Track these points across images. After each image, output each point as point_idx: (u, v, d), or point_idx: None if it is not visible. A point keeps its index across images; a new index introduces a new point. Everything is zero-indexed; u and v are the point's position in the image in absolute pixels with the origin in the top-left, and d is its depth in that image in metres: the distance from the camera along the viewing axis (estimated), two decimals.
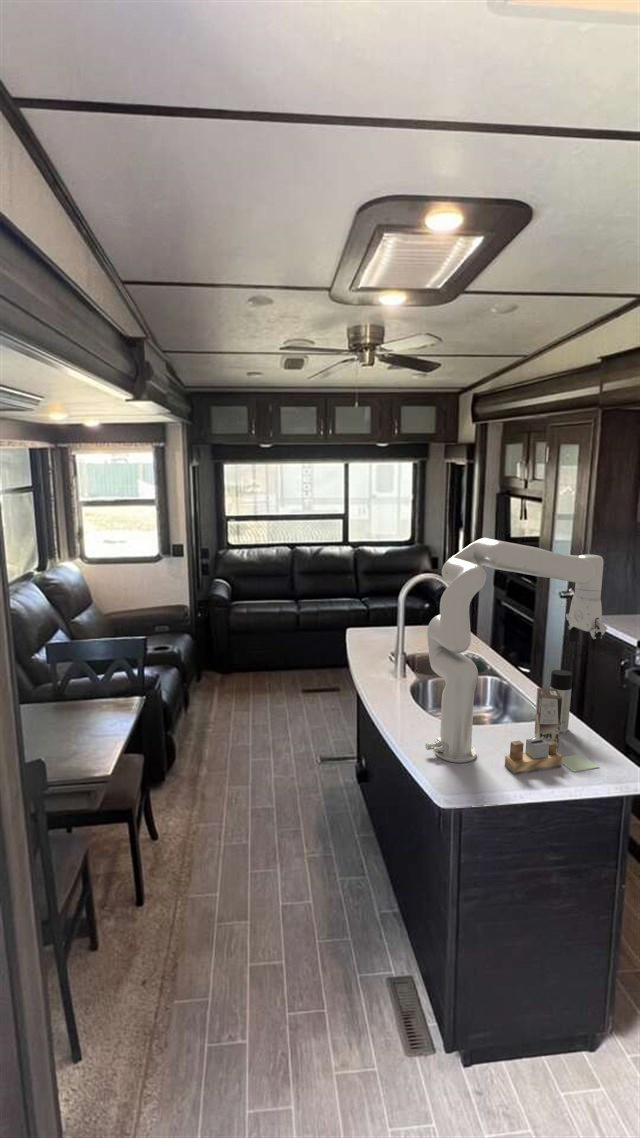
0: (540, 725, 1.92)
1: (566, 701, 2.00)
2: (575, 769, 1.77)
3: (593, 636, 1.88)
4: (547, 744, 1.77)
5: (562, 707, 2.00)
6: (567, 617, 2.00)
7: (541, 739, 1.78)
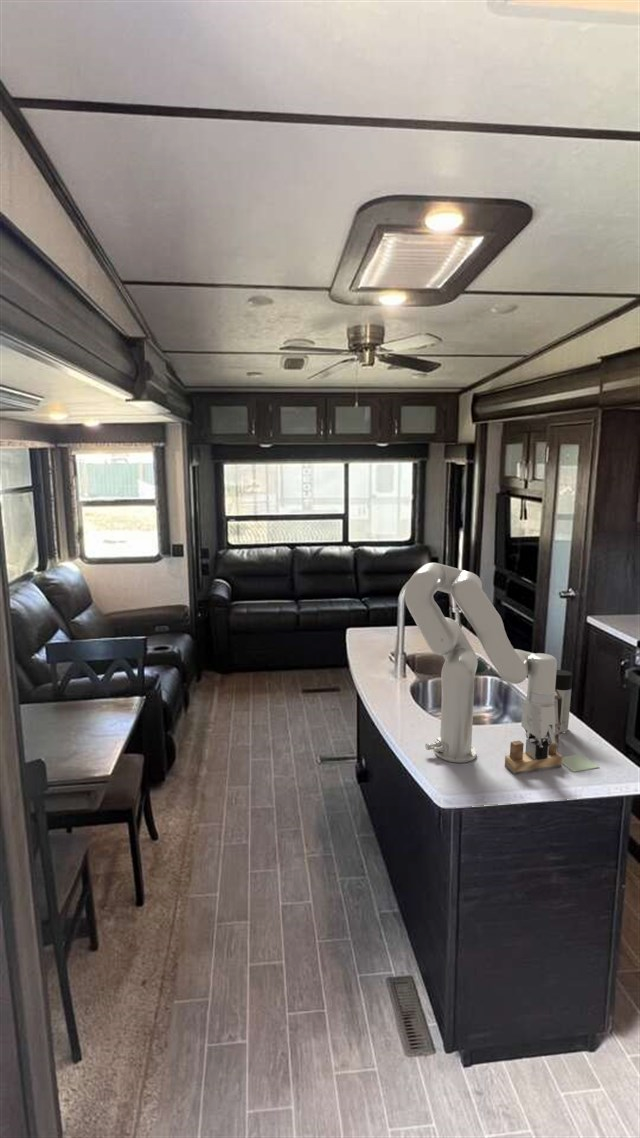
0: None
1: (566, 701, 2.00)
2: (575, 769, 1.77)
3: (540, 745, 1.75)
4: None
5: (562, 707, 2.00)
6: None
7: None
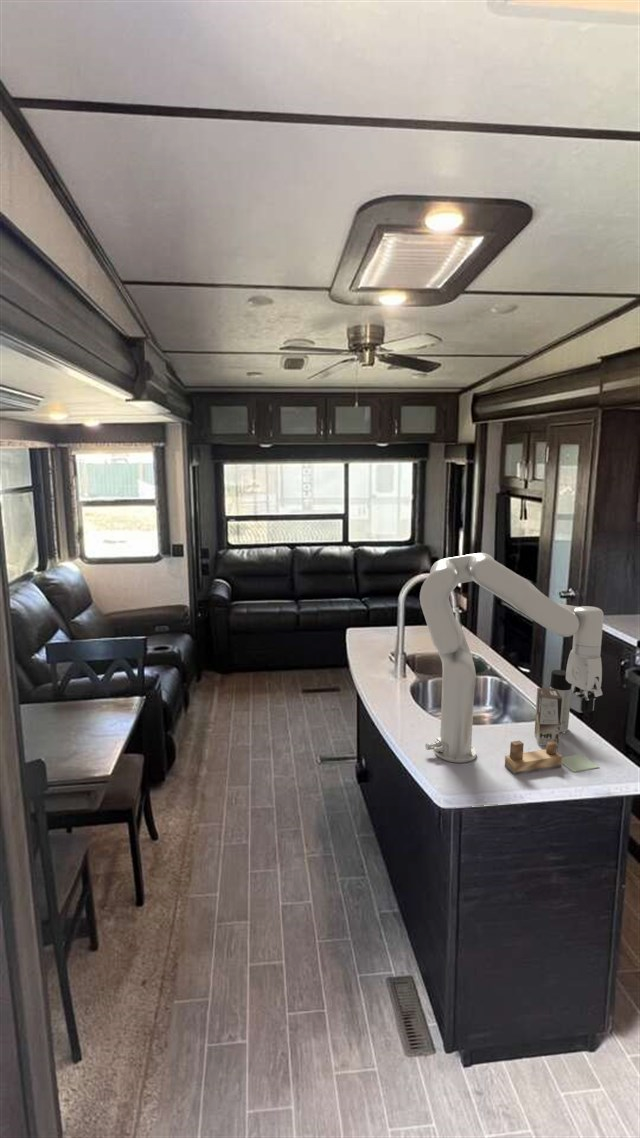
0: (540, 725, 1.92)
1: (566, 701, 2.00)
2: (575, 769, 1.77)
3: (586, 697, 1.75)
4: None
5: (562, 707, 2.00)
6: None
7: None
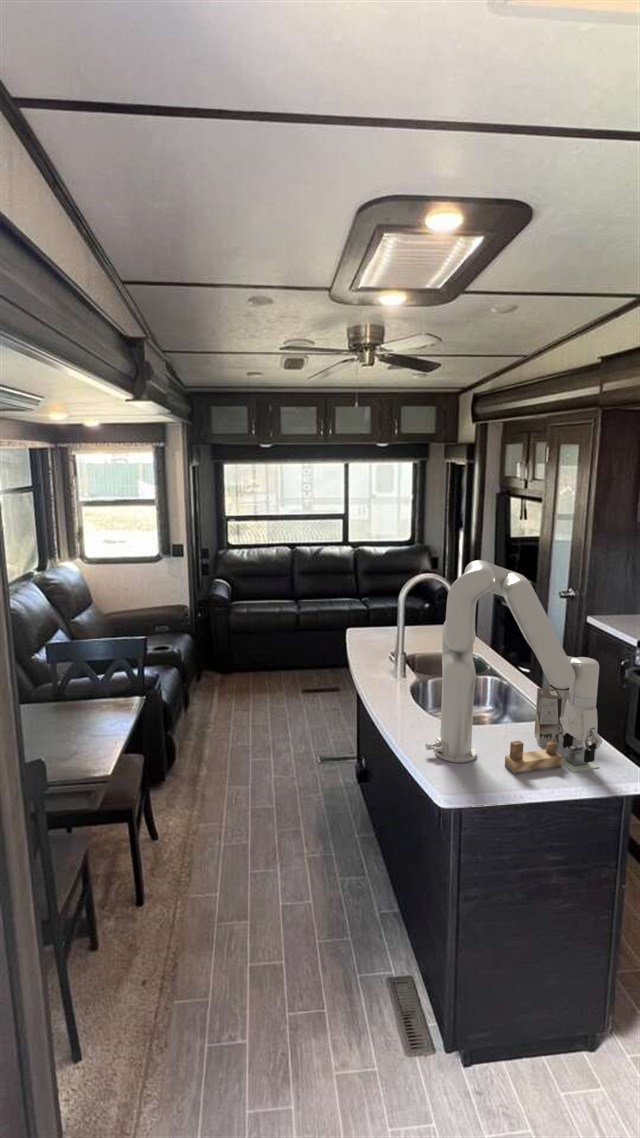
0: (540, 725, 1.92)
1: (566, 701, 2.00)
2: (575, 769, 1.77)
3: (587, 747, 1.75)
4: None
5: (562, 707, 2.00)
6: (561, 720, 1.87)
7: (581, 746, 1.81)
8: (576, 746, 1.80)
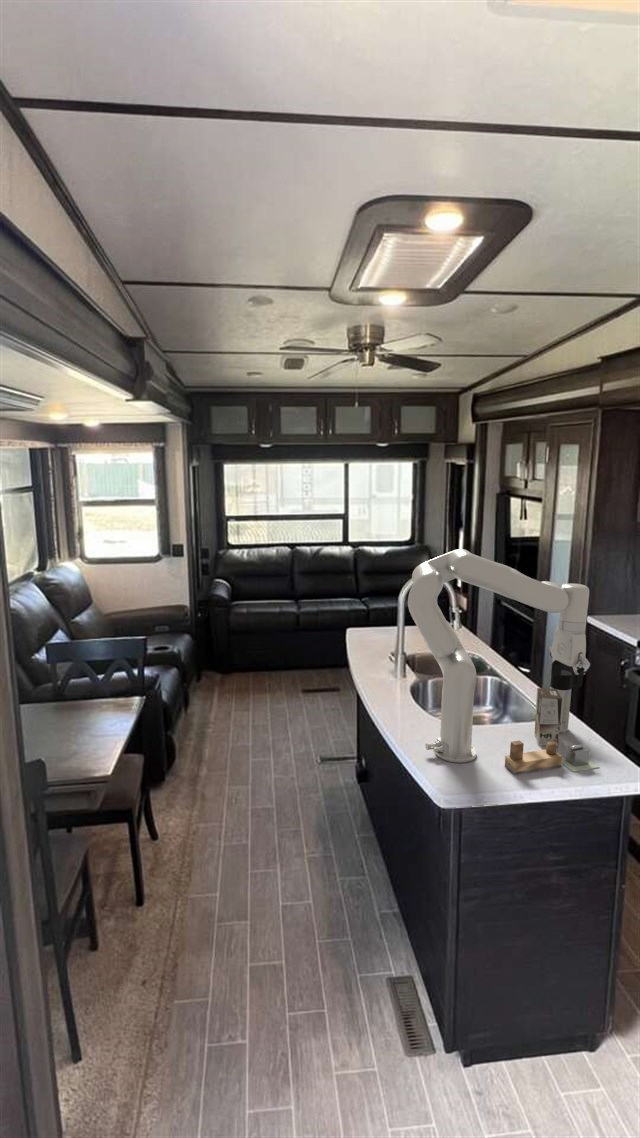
0: (540, 725, 1.92)
1: (566, 701, 2.00)
2: (575, 769, 1.77)
3: (575, 672, 1.75)
4: (587, 751, 1.80)
5: (562, 707, 2.00)
6: (550, 649, 1.88)
7: (581, 746, 1.81)
8: (576, 746, 1.80)
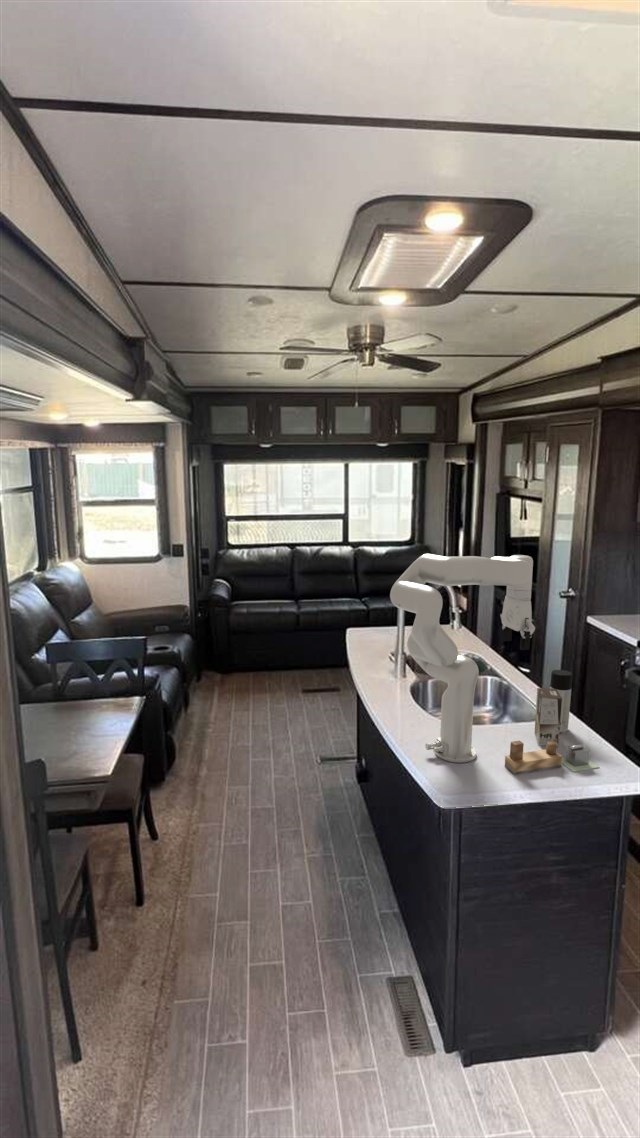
0: (540, 725, 1.92)
1: (566, 701, 2.00)
2: (575, 769, 1.77)
3: (523, 636, 1.91)
4: (587, 751, 1.80)
5: (562, 707, 2.00)
6: (501, 617, 2.03)
7: (581, 746, 1.81)
8: (576, 746, 1.80)
